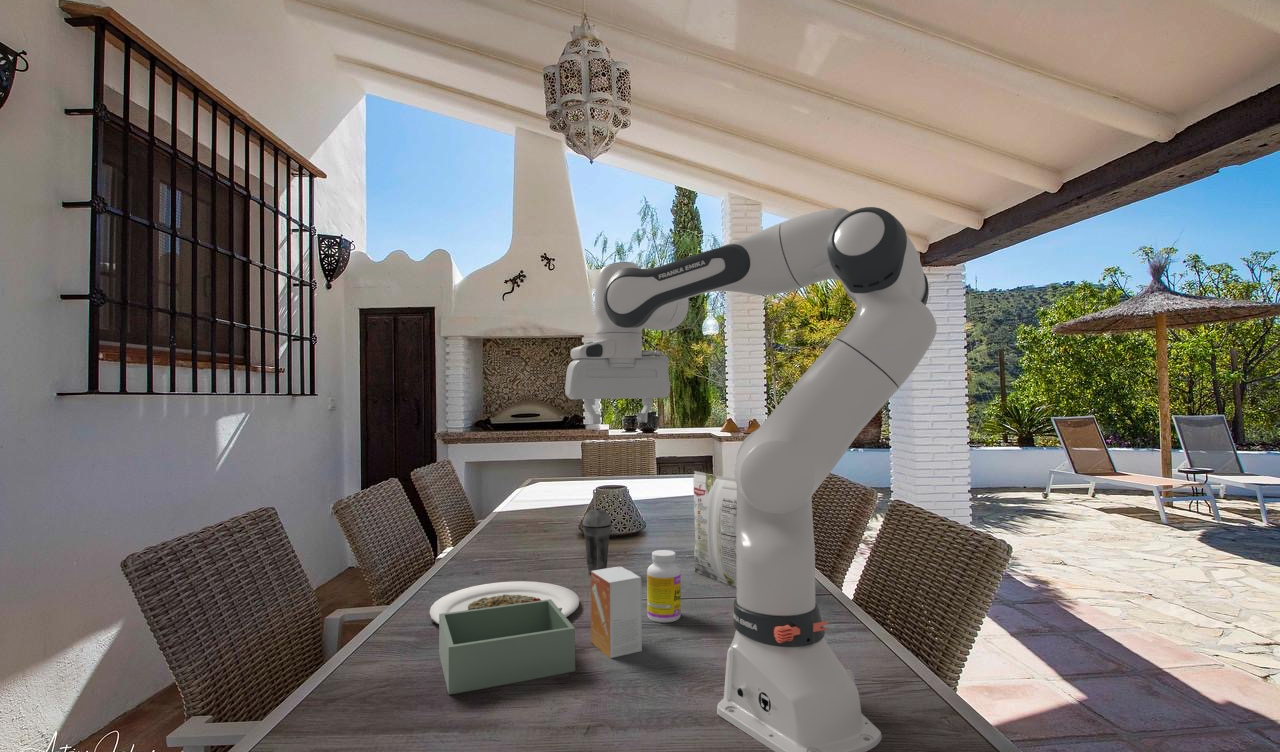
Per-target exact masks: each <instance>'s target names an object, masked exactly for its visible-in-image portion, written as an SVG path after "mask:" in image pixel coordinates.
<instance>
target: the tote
mask: <svg viewBox="0 0 1280 752" xmlns="http://www.w3.org/2000/svg"><path fill="white" fill-rule="evenodd" d="M561 611H562V610H560V608H558V607H557V606H556V605H555V604H554V602H553V601H552V600H551V599H548V600H541V601H533V602H526V603H518V604H510V605H503V606H495V607H488V608H480V609H473V610H465V611H457V612H450V613H442V614H439V624H438V625H439V626H438V631H439V632H438V633H439V634H438V649H439V650H438V653H439V654H438V656H439V660H440V664H441V668H442V673H443V676H444V681H445V684H446V689H447V693H448V695H449V696H450V695H454V694H461V693H465V692H466V693H467V692H470V691H471V692H472V691H477V690H481V689H483V690H484V689H488V688H493V687H499V686H504V685H509V684H514V683H515V684H516V683H519V682H525V681H530V680H535V679H536V680H537V679H539V678H546V677H552V676H557V675H562V674H567V673H572V672H576V627H574V626H573V624H572V623H571V621H570V620H569V619H568V618H567V617H565V616H564V614H563V613H562V612H561Z"/></svg>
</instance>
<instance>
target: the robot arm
mask: <svg viewBox="0 0 1280 752" xmlns="http://www.w3.org/2000/svg"><path fill="white" fill-rule="evenodd" d="M920 260H921V259H920V255H919V253H918V251H917V248H916V247H915V245H914V243H913V242H912V240H911V239H910V237H909V236H908V234H907V231H906V229H905V227H904V225H903V224H902V222H900V220H899V219H898V218H896V217H895V216H894V215H893V213H891V212H889V211H888V210H885V209H883V208H880V207H874V206H866V207H860V208H857V209H854V210H852V211H849V210H847V209H845V208H843V207H834V208H829V209H822V210H817V211H813V212H810V213H807V214H803V215H800V216H796V217H794V218H790V219H788V220H785V221H783V222H780V223H777V224H775V225H774V224H773V226H769V227H767V228H765V229H762V230H760V231H757V232H755V233H753V234H750V235H748V236H746V237H743V238H740V239H738V240H735V241H733V242H729V243H726V244H725V245H722V246H719V247H716V248H712V249H709V250H706V251H703V252H700V253H697V254H694V255H690V256H686V257H684V258H680V259H678V260H675V261H672V262H668V263H666V264H663V265H659V266H656V267H653V268H652V267H651V268H640V267H639V266H638V265H637V264H636V263H634V262H632V261H631V262H630V261H621V262H613V263H610V264H607V265H605V266H603V268H601V269H600V270H599V272H598V274H597V277H596V282H595V289H594V291H595V292H594V313H595V316H596V328H595V332H594V334H595V335H594V341H590V342H587V343H585V344H583V345H579V346H576V347H573V348H571V349H570V358H571V359H572V361H570V363H569V364H568V365H567V369H566V375H565V383H564V384H565V386H564V387H565V390H564V391H565V396H566V397H567V398H568V399H569V400H583V401H584V403H583V405H584V408H585V410H586V411H587V412H588V414H589V422H590V424H591V425H600V424H601V421H602V420H601V417H602V416H601V414H600V413H597V412H596V410H595V409H594V407H593V406H595V405H596V400H605V399H606V400H612V399H613V400H615V399H616V400H617V399H620V400H621V399H624V400H625V399H641V403H642V404H643V407H642V410H641V412H637V413H636V417H637V418H636V422H637V423H648V413H649V412H650V410H651V408H652V407H653V405H654V399H666V398H668V396H670V394H671V383H670V382H671V381H670V375H669V367H670V359H669V357H668V355H667V354H666V353H664V352H662V350H648V349H647V350H643V343H642V342H643V340H642V339H643V337H642V336H643V334H642V333H643V329H646V330H653V331H654V330H655V331H668V330H673V329H676V328H677V327H679V326H681V325H682V324H683V323H684V321H685V320H686V318H687V316H688V314H689V311H690V298H693V297H696V296H701V295H704V294H706V293H714V292H735V293H742V294H749V295H755V296H756V295H757V296H771V295H777V294H778V295H779V294H783V293H784V294H785V293H789V292H793V291H796V290H799V289H802V288H805V287H807V286H811V285H814V284H816V283H820V282H822V281H823V282H824V281H827V280H835V281H838V282H840V283H841V284H842V287H843V290H844V291H845V293H846V294H847V296H848V297H849V298H850V300H851V302H853V303H854V304H855V305H856V307H855V311H854V315H853V316H852V318H851V320H849V322H848V323H847V325H845V327H844V328H843V329H842V330H841V331H840V333H838V334H837V335H836V337H835V338H834V339H833V340H832V341H831V343H829V345H828V346H827V347H826V348H825V349H824V351H822V353H820V355H818V357H817V358H816V359H815V361H814V362H813V363H812V364H811V365H810V366H809V368H808V369H807V370H806V371H805V372H804V373H803V374H802V375H801V377H800V378H799V379H798V380H797V382H795V383H794V385H793V386H792V387H791V388H790V390H789V391H788V393H787V394H786V395H785V396H784V397H783V399H781V401H780V402H779V404H778V405H777V406H776V407H775V408H774V409H773V411H771V413H770V414H769V415H768V417H767V418H766V419H765V420H764V421H763V423H762V424H761V425H760V426H759V427H758V428H757V429H755V430H754V431H752V432H750V434H748V435H747V436H746V437H745V438H744V440H743V441H742V443H740V446H739V448H738V451H737V454H736V458H735V464H734V478H735V480H736V484H737V528H736V582H737V587H736V598H734V600H733V607H732V618H733V627H734V629H735V633H734V636H733V639H732V642H731V644H730V646H729V648H728V649H727V652H726V654H727V655H726V661H725V662H726V664H725V674H724V675H725V677H724V679H725V680H724V688H723V689H724V690H723V691H724V692H723V698H722V699H721V700H720V701H719V702H718V704H716V705H717V706H716V714H717V715H718V716H719V717H720V718H722V719H723V720H725V721H727V722H728V723H730V724H732V725H733V726H734V727H736V728H738V729H739V730H741V731H742V732H743V733H745V734H747V735H748V736H750V737H752V738H753V739H755V740H756V741H757V742H760V744H763V745H764V746H766V747H767V748H769V749H770V750H772V751H773V752H868V751H869V750H872V749H873V748H875V747H877V745H878V744H879V743H880V742H881V740H882V739H883V738H882V737H883V735H882V732H881V730H879V728H877V727H876V725H874V723H872V721H870V720H869V719H868V718H867V717H866V716H865V715H864V714H863V713H862V708H861V699H860V694H859V689H858V687H857V685H856V683H855V676H854V673H853V670H851V669H849V668H845V667H844V665H843V664H842V663H841V661H840V660H839V658H838V657H837V656H836V655H837V654H835V652H834V651H833V650H832V648H831V646H830V645H829V644H828V641H827V640H826V638H825V635H826V632H825V631H827V630H829V628H828V627H825V626H826V625H828V624H829V621H828V620H827V621H823V620H822V614H821V613H820V608H819V605H818V604H817V602H816V547H815V536H814V534H815V532H814V522H813V520H814V519H813V517H814V516H813V501H812V498H813V497H812V496H813V494H814V493H815V492H816V491H817V490H818V489H819V487H820V486H821V485H822V483H823V482H824V481H825V480H826V478H827V477H828V476H829V475H830V473H831V472H832V471H833V469H834V468H835V467H836V466H837V464H838V463H839V461H840V460H841V459H842V457H844V455H845V453H846V451H848V450H849V447H850V446H851V445H852V443H853V442H854V441H855V439H856V438H857V437H858V435H859V434H860V433H861V432H862V431H863V429H864V428H865V427H866V426H867V425H868V424H869V422H871V420H872V419H873V418H874V417H875V416H876V415H877V414H878V412H879V411H880V410H881V409H882V408H883V407H884V406H885V404H887V402H888V401H889V400H890V399H891V398H892V397H893V395H894V394H896V392H897V391H898V390H899V389H900V388H901V387H902V386H903V384H904V383H905V382H906V381H907V380H908V378H909V377H910V376H911V375H912V373H913V371H915V369H916V368H917V366H918V365H919V363H920V362H921V360H922V359H923V358H924V356H925V355H926V353H927V351H928V350H929V348H930V347H931V345H932V344H933V343H932V342H933V341H934V340H935V337H936V335H937V327H938V326H937V322H936V319H935V316H934V314H933V313H932V311H931V310H930V309H929V308H928V307H927V304H928V300H929V294H930V293H929V292H930V288H929V287H930V286H929V280H928V278H927V276H926V273H925V272H924V269H923V266H922V262H921V261H920Z"/></svg>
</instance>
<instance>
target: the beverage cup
mask: <svg viewBox="0 0 1280 752" xmlns="http://www.w3.org/2000/svg"><path fill="white" fill-rule="evenodd" d="M592 496H593V499H592V500H593V508H592V509H590V510H588V512H587V513H586V514H585V515H584V517H583V519H582V525H581V526H582V531H583V535H584V543H585V545H584V546H585V554H586V555H585V556H586V558H585V559H586V566H587V573H589V574H591V571H594V570H600V569H606V568H608V557H609V556H608V555H609V545H610V543H609V542H610V533H611V529H612V528H611V527H612V522H611V517H610V515H609V513H608V512H607V511H606V510H604V509H603V508H597V500H596V491H595V490H594V491H592Z"/></svg>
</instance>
